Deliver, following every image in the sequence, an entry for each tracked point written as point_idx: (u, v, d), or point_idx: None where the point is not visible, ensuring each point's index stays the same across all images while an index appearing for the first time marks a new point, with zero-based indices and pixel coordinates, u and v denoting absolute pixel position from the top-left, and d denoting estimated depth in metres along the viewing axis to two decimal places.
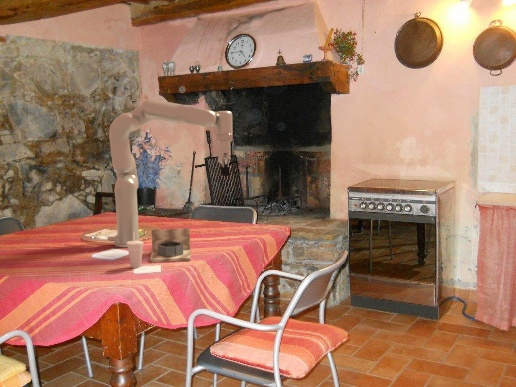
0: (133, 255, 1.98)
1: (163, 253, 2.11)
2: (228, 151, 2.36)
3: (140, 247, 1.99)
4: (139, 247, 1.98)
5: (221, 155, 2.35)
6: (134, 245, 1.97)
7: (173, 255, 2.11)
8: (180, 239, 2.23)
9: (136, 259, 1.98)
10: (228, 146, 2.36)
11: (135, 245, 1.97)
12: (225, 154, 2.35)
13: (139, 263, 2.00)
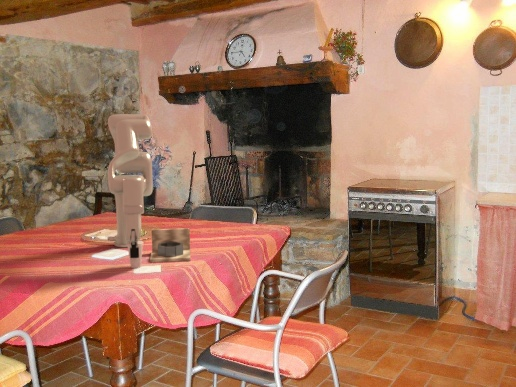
0: None
1: (163, 253, 2.11)
2: (137, 227, 1.94)
3: (140, 247, 1.99)
4: (139, 247, 1.98)
5: (128, 232, 1.94)
6: None
7: (173, 255, 2.11)
8: (180, 239, 2.23)
9: (136, 259, 1.98)
10: (136, 221, 1.94)
11: None
12: (132, 232, 1.94)
13: (139, 263, 2.00)
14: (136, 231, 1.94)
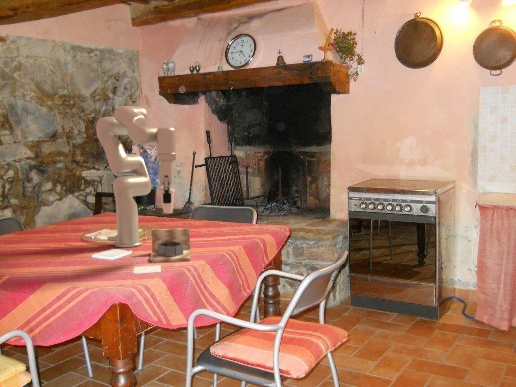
0: None
1: (163, 253, 2.11)
2: (170, 174, 2.07)
3: (172, 193, 2.11)
4: (171, 193, 2.11)
5: (161, 178, 2.07)
6: None
7: (173, 255, 2.11)
8: (180, 239, 2.23)
9: (168, 204, 2.11)
10: (169, 168, 2.07)
11: None
12: (166, 178, 2.06)
13: (171, 209, 2.12)
14: (169, 177, 2.07)
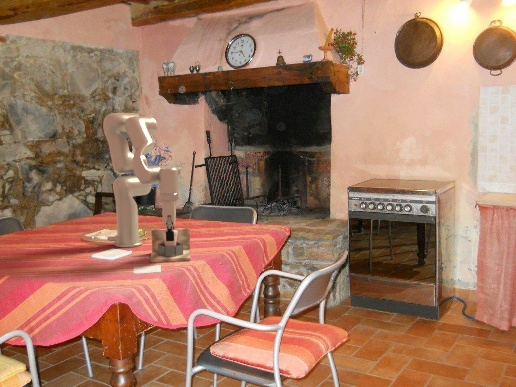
0: (168, 243, 2.13)
1: (163, 253, 2.11)
2: (173, 213, 2.10)
3: (175, 235, 2.14)
4: (174, 235, 2.13)
5: (164, 218, 2.09)
6: None
7: (173, 255, 2.11)
8: (180, 239, 2.23)
9: None
10: (172, 207, 2.10)
11: None
12: (169, 217, 2.09)
13: None
14: (172, 217, 2.10)
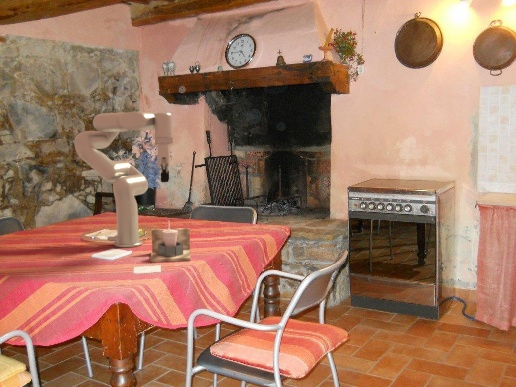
0: (168, 243, 2.13)
1: (163, 253, 2.11)
2: (167, 156, 2.20)
3: (175, 235, 2.14)
4: (174, 235, 2.13)
5: (159, 160, 2.20)
6: (170, 233, 2.12)
7: (173, 255, 2.11)
8: (180, 239, 2.23)
9: None
10: (167, 150, 2.20)
11: (171, 233, 2.12)
12: (163, 159, 2.19)
13: None
14: (166, 159, 2.20)
